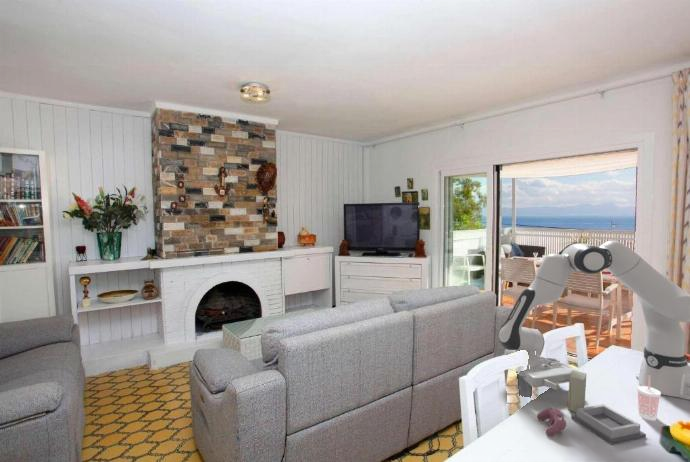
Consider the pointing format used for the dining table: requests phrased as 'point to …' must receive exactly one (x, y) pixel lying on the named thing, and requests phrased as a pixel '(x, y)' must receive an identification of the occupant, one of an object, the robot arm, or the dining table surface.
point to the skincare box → (576, 391)
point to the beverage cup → (648, 401)
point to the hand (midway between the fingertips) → (568, 385)
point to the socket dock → (608, 424)
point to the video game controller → (553, 420)
